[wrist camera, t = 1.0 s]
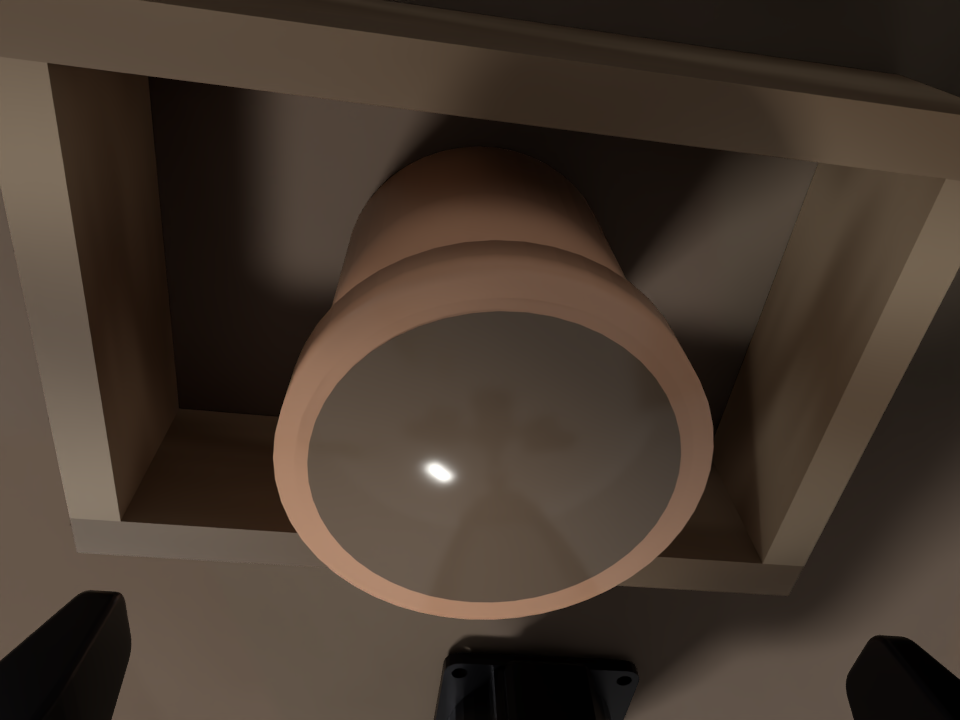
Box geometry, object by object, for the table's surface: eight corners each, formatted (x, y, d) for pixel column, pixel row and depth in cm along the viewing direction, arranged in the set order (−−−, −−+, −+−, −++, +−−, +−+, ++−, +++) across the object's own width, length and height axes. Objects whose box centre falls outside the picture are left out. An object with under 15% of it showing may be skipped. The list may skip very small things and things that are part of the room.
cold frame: (731, 482, 21) (788, 596, 17) (141, 436, 19) (76, 552, 16) (900, 75, 15) (1032, 125, 12) (80, -44, 13) (-44, -26, 10)
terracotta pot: (585, 404, 19) (650, 631, 13) (328, 381, 18) (274, 611, 12) (650, 152, 16) (778, 305, 10) (338, 112, 15) (269, 251, 9)
